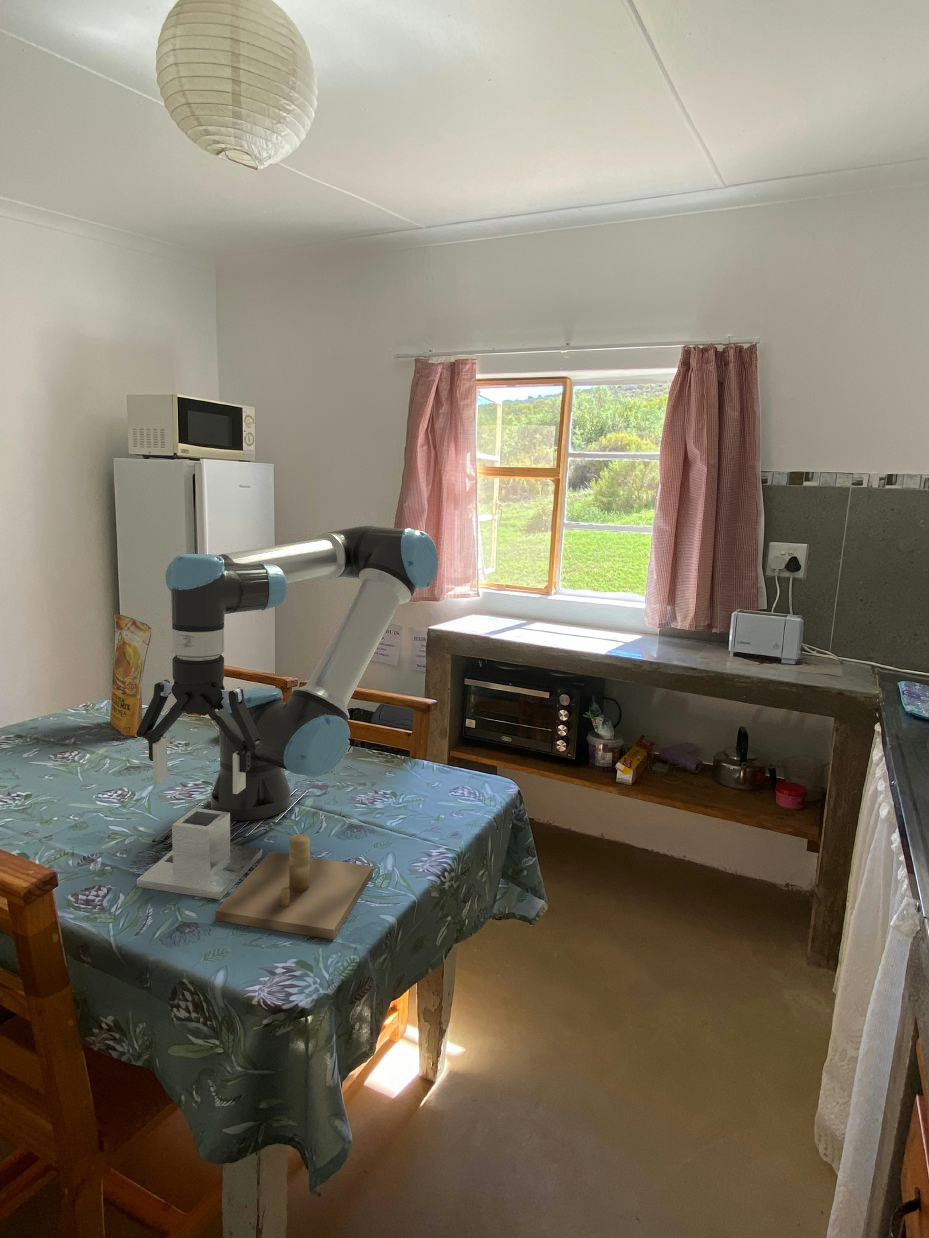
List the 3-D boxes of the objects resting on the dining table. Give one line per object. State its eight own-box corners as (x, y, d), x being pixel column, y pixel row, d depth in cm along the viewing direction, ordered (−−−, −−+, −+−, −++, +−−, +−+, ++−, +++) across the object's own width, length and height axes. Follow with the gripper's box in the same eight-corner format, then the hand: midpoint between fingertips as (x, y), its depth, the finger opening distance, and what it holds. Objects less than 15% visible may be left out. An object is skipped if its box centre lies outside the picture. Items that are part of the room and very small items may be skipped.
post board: (215, 920, 105) (214, 859, 103) (270, 859, 122) (270, 806, 120) (333, 939, 102) (334, 877, 100) (372, 874, 119) (374, 820, 117)
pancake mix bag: (130, 715, 191) (127, 611, 186) (157, 736, 178) (154, 624, 173) (103, 720, 187) (99, 613, 182) (128, 741, 173) (124, 626, 168)
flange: (136, 886, 112) (135, 832, 111) (186, 844, 126) (185, 795, 124) (220, 899, 110) (219, 844, 108) (262, 855, 123) (262, 805, 122)
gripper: (109, 652, 110) (113, 784, 113) (263, 667, 106) (262, 804, 109) (140, 643, 117) (142, 767, 121) (284, 657, 113) (283, 785, 117)
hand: (199, 785), depth 115 cm, fingers open, 13 cm apart
